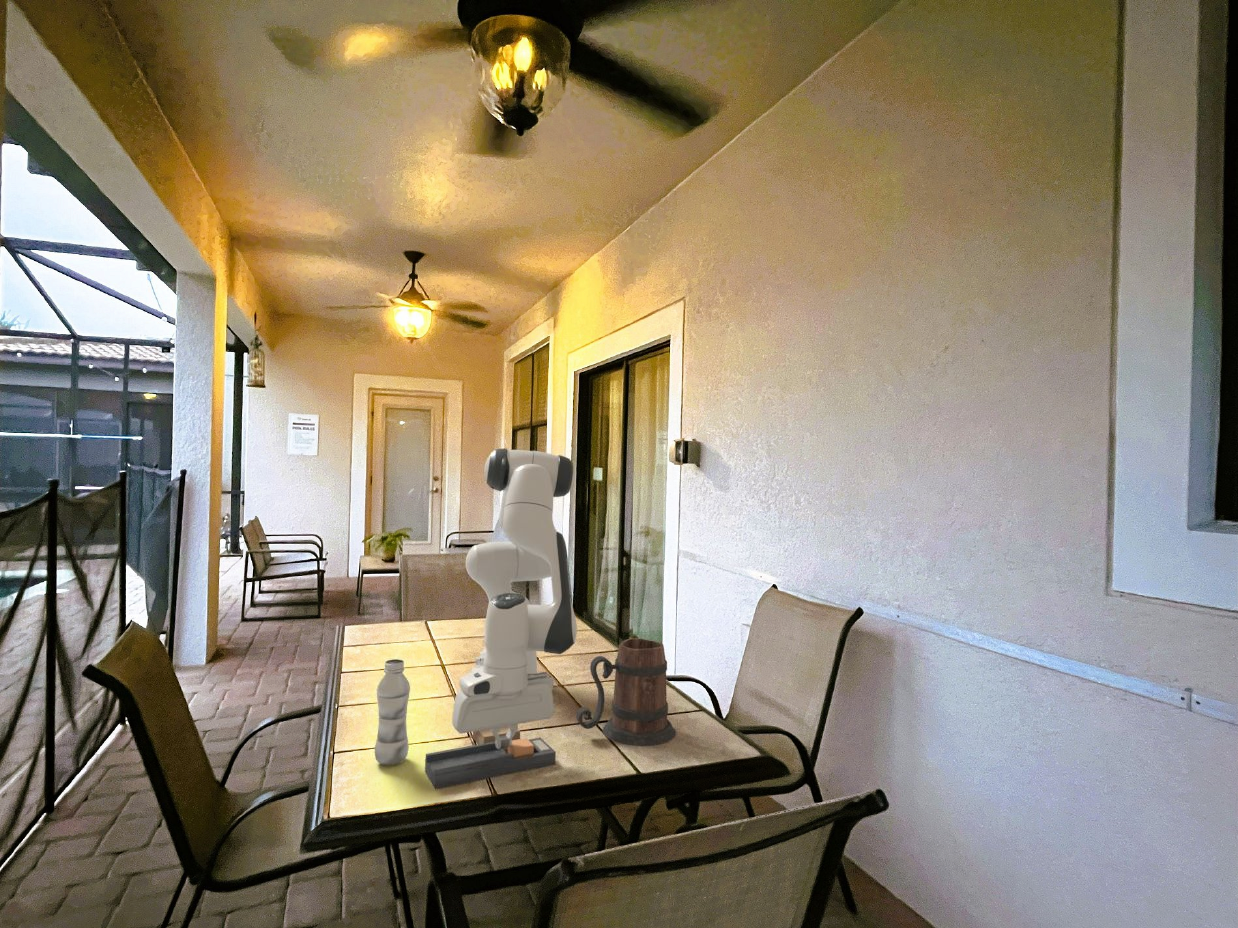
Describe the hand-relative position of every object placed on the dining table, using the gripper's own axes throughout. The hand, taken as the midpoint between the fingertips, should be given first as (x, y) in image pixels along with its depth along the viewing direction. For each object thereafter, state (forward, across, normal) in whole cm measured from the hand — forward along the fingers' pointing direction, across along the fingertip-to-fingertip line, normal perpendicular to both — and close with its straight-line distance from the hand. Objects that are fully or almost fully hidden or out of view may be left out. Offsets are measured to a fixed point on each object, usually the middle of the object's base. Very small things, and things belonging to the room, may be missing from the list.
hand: (503, 746), depth 131 cm
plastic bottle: (+4, +19, -11) cm, 23 cm away
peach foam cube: (+2, -1, 0) cm, 2 cm away
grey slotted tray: (+4, +2, 0) cm, 4 cm away
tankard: (+4, -31, -4) cm, 31 cm away
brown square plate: (+4, -3, -12) cm, 13 cm away
